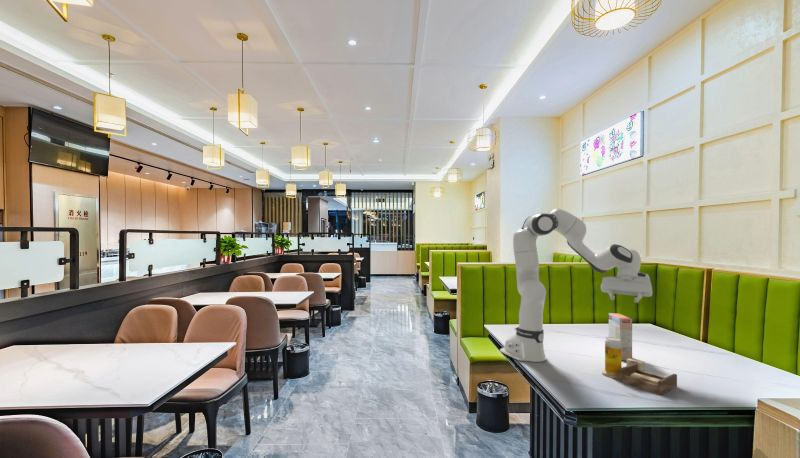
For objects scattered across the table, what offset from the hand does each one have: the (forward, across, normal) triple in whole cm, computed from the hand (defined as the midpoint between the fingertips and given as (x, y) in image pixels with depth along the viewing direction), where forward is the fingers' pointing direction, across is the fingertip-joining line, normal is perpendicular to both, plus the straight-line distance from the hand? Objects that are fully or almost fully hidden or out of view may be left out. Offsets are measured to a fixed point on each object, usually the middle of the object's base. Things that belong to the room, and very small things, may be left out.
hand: (623, 300), depth 157 cm
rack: (+31, +10, +14) cm, 35 cm away
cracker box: (+8, -5, +37) cm, 38 cm away
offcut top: (+15, +4, +27) cm, 31 cm away
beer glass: (+30, -2, +14) cm, 33 cm away
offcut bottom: (+34, +10, +11) cm, 37 cm away
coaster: (+30, -2, +14) cm, 33 cm away
